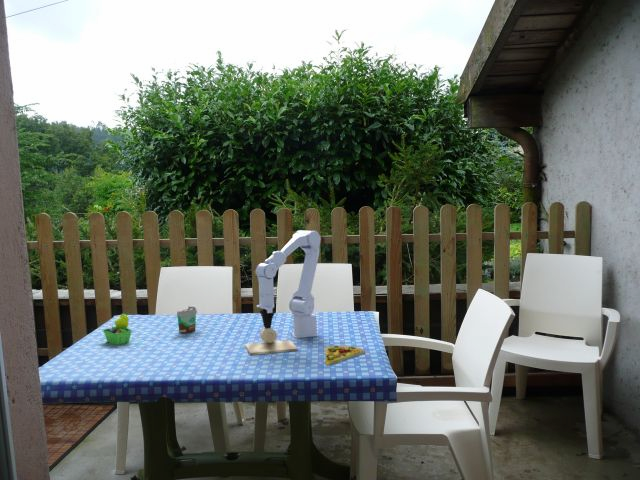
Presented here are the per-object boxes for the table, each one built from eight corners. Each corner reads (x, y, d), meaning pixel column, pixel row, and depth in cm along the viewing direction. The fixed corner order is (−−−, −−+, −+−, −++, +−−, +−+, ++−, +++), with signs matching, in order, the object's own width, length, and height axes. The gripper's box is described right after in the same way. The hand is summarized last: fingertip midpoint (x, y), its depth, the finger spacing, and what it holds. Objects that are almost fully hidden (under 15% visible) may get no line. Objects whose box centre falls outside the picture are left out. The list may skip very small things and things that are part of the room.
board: (290, 341, 225) (290, 339, 225) (297, 350, 212) (297, 348, 212) (245, 346, 221) (245, 344, 221) (249, 355, 208) (249, 353, 208)
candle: (260, 327, 225) (264, 327, 215) (274, 328, 226) (278, 329, 216) (259, 340, 224) (262, 342, 214) (272, 342, 225) (276, 343, 216)
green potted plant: (102, 341, 234) (101, 315, 233) (122, 337, 240) (121, 311, 239) (115, 346, 226) (114, 318, 225) (136, 341, 232) (134, 314, 231)
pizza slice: (366, 353, 208) (366, 345, 208) (347, 369, 189) (347, 361, 189) (327, 350, 214) (327, 342, 214) (305, 365, 195) (305, 357, 195)
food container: (191, 335, 241) (189, 312, 241) (177, 334, 243) (176, 311, 242) (202, 328, 253) (201, 306, 253) (189, 328, 255) (188, 306, 254)
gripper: (253, 291, 227) (254, 324, 228) (259, 297, 213) (260, 332, 214) (270, 290, 229) (271, 323, 230) (277, 296, 215) (278, 331, 216)
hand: (267, 327), depth 222 cm, fingers closed
